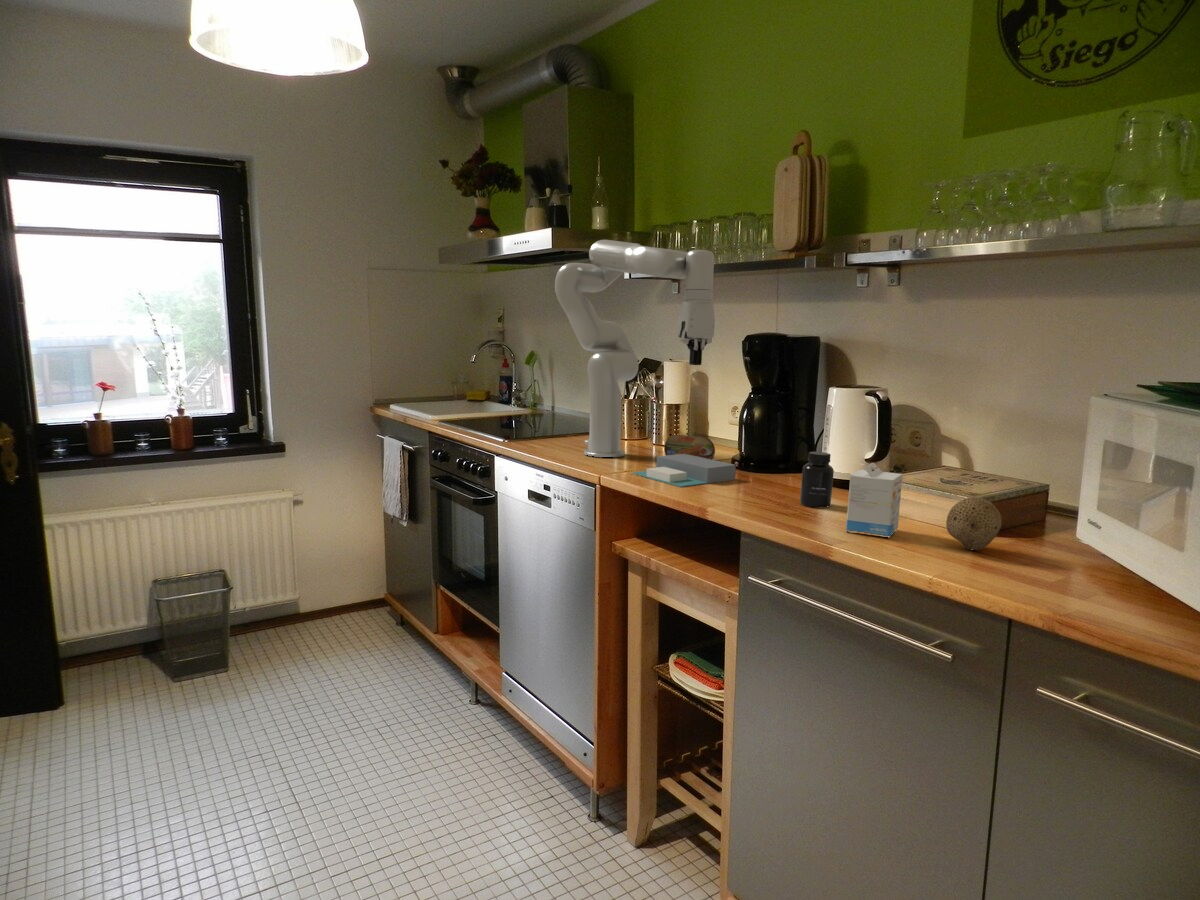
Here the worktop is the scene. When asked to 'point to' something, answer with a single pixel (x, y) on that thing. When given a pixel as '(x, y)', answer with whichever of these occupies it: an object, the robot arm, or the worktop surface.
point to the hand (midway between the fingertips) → (695, 364)
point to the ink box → (874, 501)
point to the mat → (677, 483)
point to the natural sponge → (974, 522)
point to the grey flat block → (698, 467)
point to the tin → (690, 446)
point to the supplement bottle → (817, 480)
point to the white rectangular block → (666, 474)
